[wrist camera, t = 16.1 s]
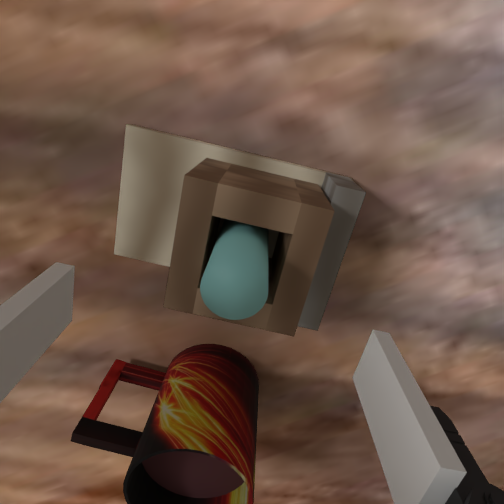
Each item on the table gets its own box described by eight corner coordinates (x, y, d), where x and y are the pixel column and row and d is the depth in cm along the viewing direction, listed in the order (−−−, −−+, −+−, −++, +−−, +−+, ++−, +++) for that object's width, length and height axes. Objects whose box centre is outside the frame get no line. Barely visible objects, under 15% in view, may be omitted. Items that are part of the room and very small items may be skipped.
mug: (116, 352, 37) (50, 456, 26) (251, 339, 36) (242, 443, 25) (140, 424, 41) (91, 543, 30) (264, 414, 39) (262, 536, 28)
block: (188, 260, 32) (163, 307, 24) (206, 157, 29) (184, 175, 21) (288, 283, 32) (293, 336, 25) (318, 184, 29) (334, 210, 22)
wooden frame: (118, 250, 33) (87, 279, 27) (130, 123, 29) (97, 127, 23) (311, 294, 34) (320, 331, 28) (350, 177, 30) (368, 193, 24)
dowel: (221, 238, 31) (194, 311, 20) (229, 197, 30) (206, 251, 19) (262, 247, 31) (259, 325, 20) (273, 207, 30) (275, 267, 19)
